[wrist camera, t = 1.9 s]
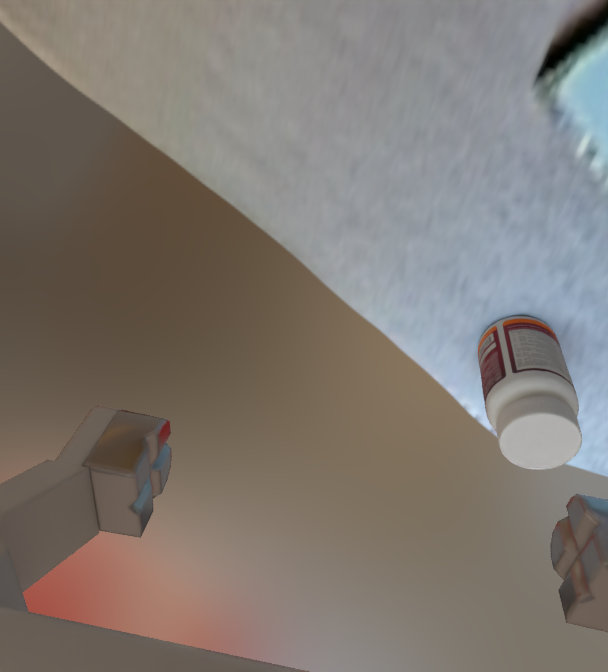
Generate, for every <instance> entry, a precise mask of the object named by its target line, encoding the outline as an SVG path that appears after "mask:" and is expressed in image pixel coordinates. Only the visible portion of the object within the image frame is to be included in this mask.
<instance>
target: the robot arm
mask: <svg viewBox="0 0 608 672" xmlns="http://www.w3.org/2000/svg"><path fill="white" fill-rule="evenodd" d="M169 435H170V422H169V421H168V420H167V419H164V418H159V417H154V416H150V415H145V414H140V413H135V412H130V411H126V410H118V409H113V408H109V407H104V406H99V405H97V406H96V407H94V408H93V409H91V411H90V412H89V413H88V415H87V416H86V418H85V419H84V420H83V422H82V423H81V425H80V426H79V427H78V429H77V430H76V432H75V433H74V434H73V436H72V437H71V439H70V440H69V442H68V443H67V444H66V446H65V447H64V449H63V450H62V451H61V453H60V454H59V456H58V457H57V459H56V460H55V461H52V460H46V461H45V462H43V463H40V464H38V465H37V466H34V467H33V468H31V469H29V470H27V471H25V472H23V473H21V474H19V475H17V476H15V477H13V478H11V479H9V480H7V481H5V482H3V483H1V484H0V672H308V671H304V670H299V669H295V668H290V667H285V666H281V665H276V664H271V663H266V662H262V661H257V660H252V659H247V658H243V657H238V656H233V655H229V654H224V653H220V652H215V651H210V650H205V649H201V648H196V647H191V646H186V645H182V644H177V643H173V642H168V641H163V640H158V639H154V638H149V637H144V636H140V635H135V634H130V633H126V632H121V631H116V630H112V629H107V628H102V627H97V626H93V625H88V624H83V623H79V622H74V621H69V620H65V619H60V618H55V617H51V616H46V615H41V614H36V613H32V612H28V609H27V606H26V603H25V599H24V596H23V593H22V592H24V591H25V590H26V589H27V588H29V587H30V586H31V585H33V584H34V583H35V582H37V581H38V580H39V579H40V578H42V577H43V576H44V575H46V574H47V573H48V572H50V571H51V570H52V569H53V568H55V567H56V566H57V565H59V564H60V563H61V562H62V561H64V560H65V559H66V558H68V557H69V556H70V555H71V554H73V553H74V552H75V551H77V550H78V549H79V548H80V547H82V546H83V545H84V544H86V543H87V542H88V541H90V540H91V539H92V538H93V537H95V536H96V535H97V534H99V531H105V532H111V533H117V534H123V535H129V536H134V537H141V536H142V534H143V532H144V529H145V527H146V525H147V523H148V521H149V519H150V517H151V514H152V512H153V498H155V497H156V496H157V495H159V494H161V493H162V491H163V489H164V486H165V484H166V482H167V478H168V474H169V471H170V467H171V448H170V447H169V445H168V444H167V443H166V441H167V439H168V437H169ZM566 507H567V511H568V515H569V516H568V517H566V518H564V519H562V520H560V521H558V523H557V525H556V527H555V529H554V531H553V534H552V541H551V559H552V564H553V568H554V570H555V571H556V572H557V573H558V574H559V576H560V577H561V578H562V579H563V580H564V582H563V583H562V585H561V587H560V589H559V594H560V598H561V602H562V606H563V611H564V614H565V619H566V623H570V624H574V625H578V626H583V627H587V628H592V629H596V630H601V631H605V632H608V499H603V498H597V497H591V496H585V495H580V494H576V495H574V496H573V497H571V499H570V501H569V502H568V504H567V506H566Z"/></svg>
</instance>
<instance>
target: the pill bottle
mask: <svg viewBox="0 0 608 672" xmlns="http://www.w3.org/2000/svg"><path fill="white" fill-rule="evenodd" d="M478 358H479V366H480V372H481V379H482V388H483V394H484V401H485V409H486V413H487V417H488V420H489V422H490V424H491V426H492V427H493V428H494V430H495V431H496V432H497V436H498V441H499V446H500V449H501V452H502V453H503V455H504V456H505V457H506V458H507V459H508V460H509V461H510V462H512V463H513V464H515V465H518V466H520V467H523V468H527V469H534V470H542V469H550V468H554V467H558V466H560V465H563V464H565V463H566V462H568V461H570V460H571V459H572V458H573V457H574V456H575V455H576V454H577V452H578V451H579V449H580V447H581V443H582V434H581V431H580V427H579V424H578V420H577V415H578V410H579V404H578V398H577V395H576V391H575V389H574V386H573V383H572V380H571V377H570V374H569V372H568V369H567V366H566V363H565V360H564V357H563V354H562V351H561V349H560V345H559V343H558V340H557V338H556V335H555V333H554V332H553V330H552V329H551V328H550V327H549V326H548V325H547V324H545V323H544V322H542V321H541V320H538V319H536V318H532V317H527V316H514V317H509V318H505V319H502V320H500V321H498V322H496V323H494V324H493V325H491V326H490V327H489V328H488V329H487V330H486V331H485V332H484V334H483V335H482V337H481V339H480V341H479V345H478Z"/></svg>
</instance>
